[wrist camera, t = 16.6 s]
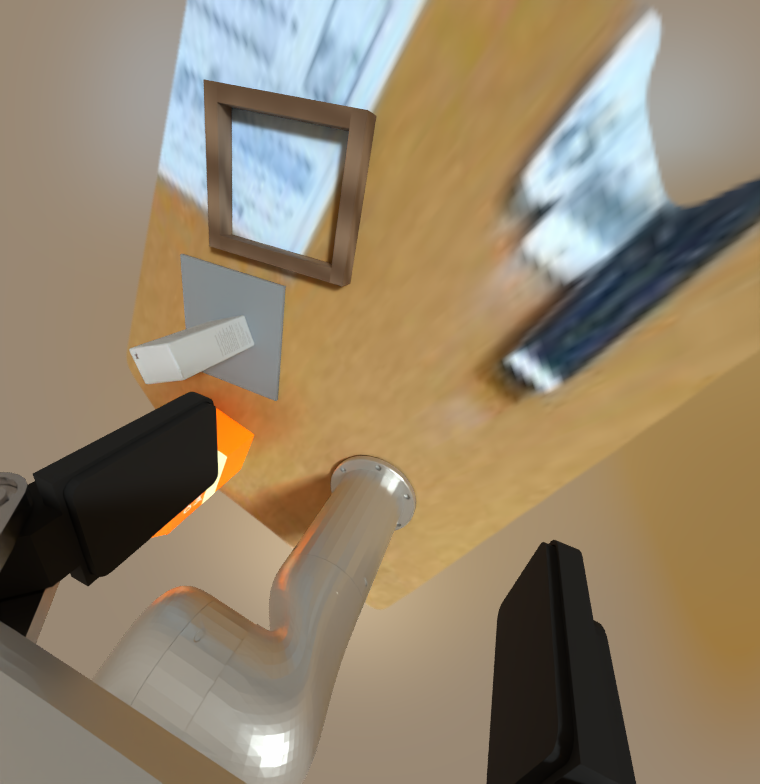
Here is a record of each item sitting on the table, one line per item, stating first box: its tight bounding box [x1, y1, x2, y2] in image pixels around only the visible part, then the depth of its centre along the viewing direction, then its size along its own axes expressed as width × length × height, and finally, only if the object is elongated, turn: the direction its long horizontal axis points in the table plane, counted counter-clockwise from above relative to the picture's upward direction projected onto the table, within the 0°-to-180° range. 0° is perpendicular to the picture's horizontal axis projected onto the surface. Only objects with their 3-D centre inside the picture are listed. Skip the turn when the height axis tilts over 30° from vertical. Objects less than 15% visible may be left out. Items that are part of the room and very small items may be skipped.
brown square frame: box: [204, 80, 376, 286], centre depth 37 cm, size 15×17×2 cm
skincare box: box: [129, 315, 254, 384], centre depth 42 cm, size 6×4×12 cm
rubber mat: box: [180, 254, 286, 401], centre depth 48 cm, size 16×15×1 cm
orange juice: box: [151, 408, 254, 538], centre depth 49 cm, size 8×9×20 cm
